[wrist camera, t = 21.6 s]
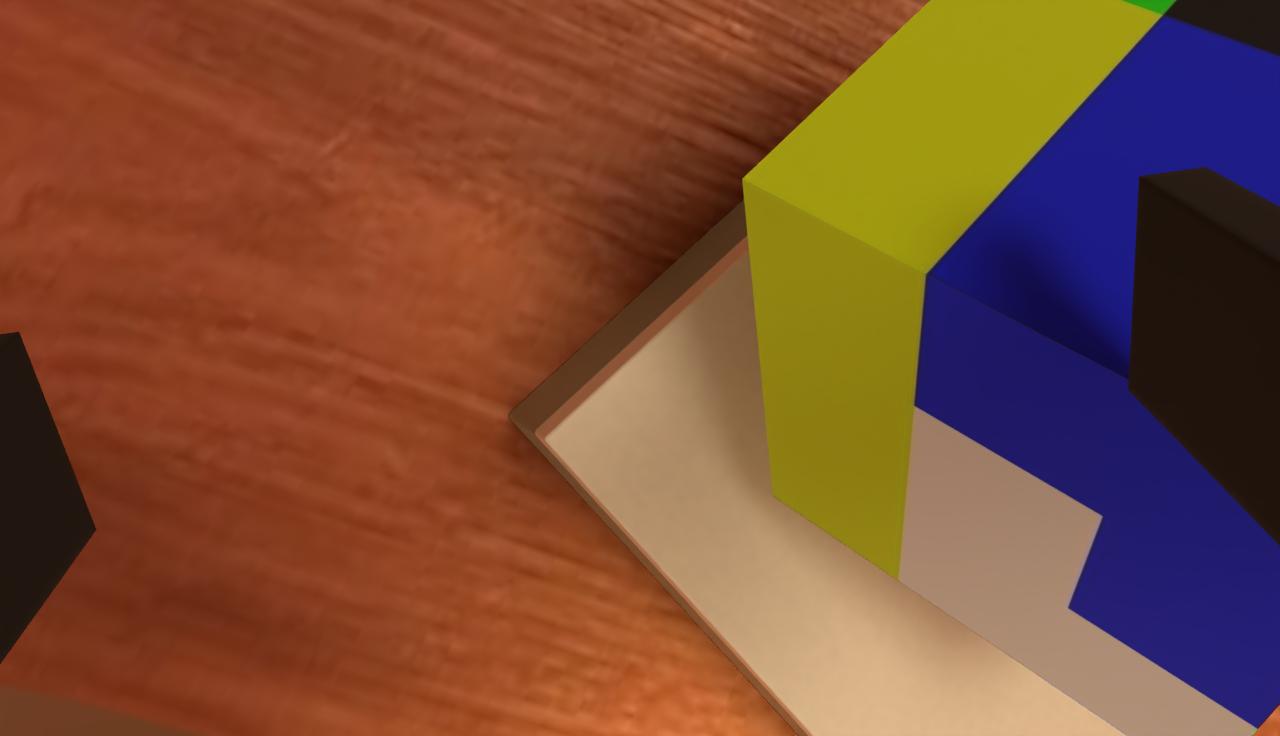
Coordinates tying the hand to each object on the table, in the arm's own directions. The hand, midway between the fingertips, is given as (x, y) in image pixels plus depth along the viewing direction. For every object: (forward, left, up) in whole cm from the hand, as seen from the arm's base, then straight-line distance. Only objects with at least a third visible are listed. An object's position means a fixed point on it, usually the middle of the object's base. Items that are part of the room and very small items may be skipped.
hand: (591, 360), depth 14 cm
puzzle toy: (+11, +8, -8) cm, 16 cm away
